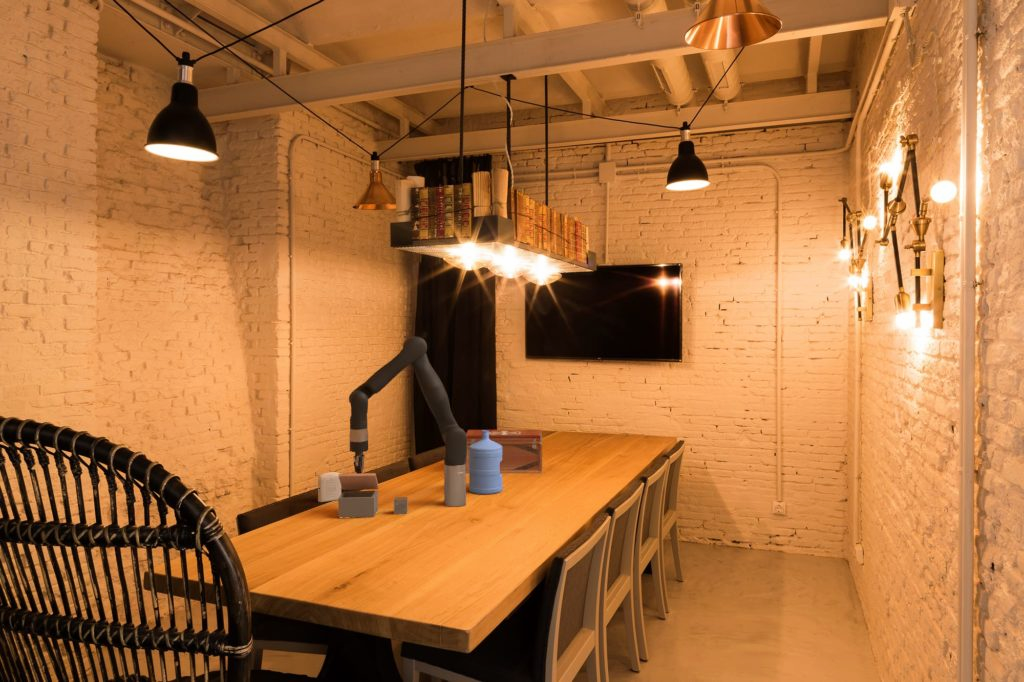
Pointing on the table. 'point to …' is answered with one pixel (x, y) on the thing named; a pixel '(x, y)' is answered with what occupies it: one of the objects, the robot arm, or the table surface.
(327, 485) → the photo printer
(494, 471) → the water jug
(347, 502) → the box
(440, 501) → the table surface
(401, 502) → the weight
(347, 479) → the lid
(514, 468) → the wooden box
